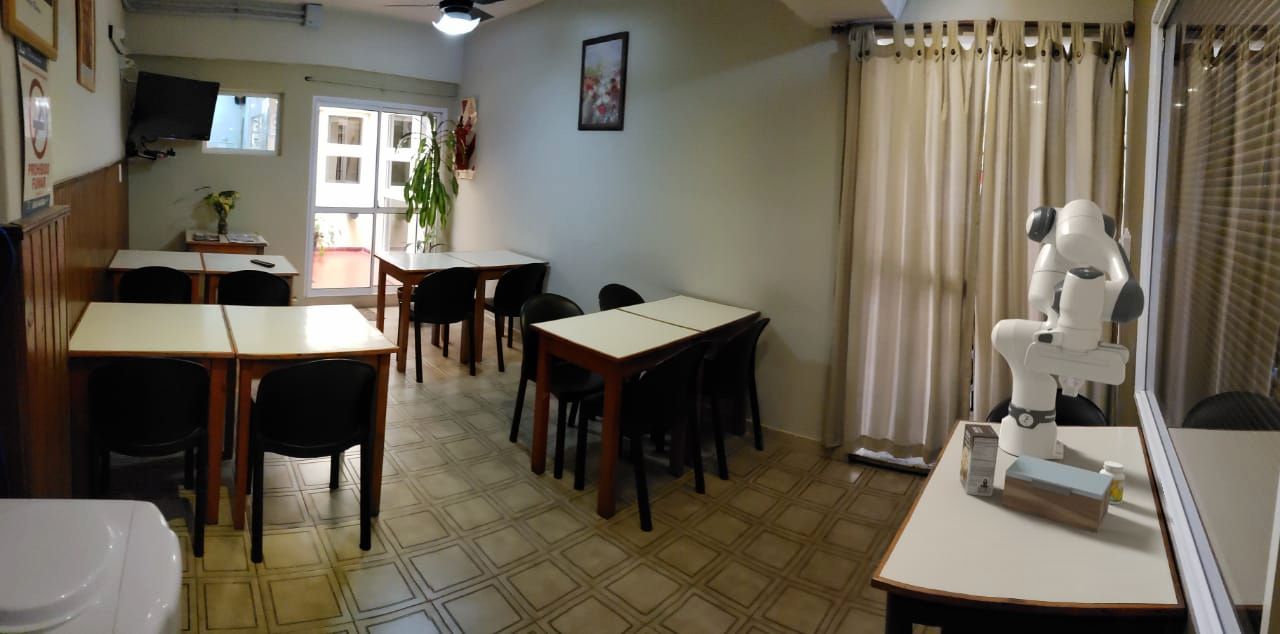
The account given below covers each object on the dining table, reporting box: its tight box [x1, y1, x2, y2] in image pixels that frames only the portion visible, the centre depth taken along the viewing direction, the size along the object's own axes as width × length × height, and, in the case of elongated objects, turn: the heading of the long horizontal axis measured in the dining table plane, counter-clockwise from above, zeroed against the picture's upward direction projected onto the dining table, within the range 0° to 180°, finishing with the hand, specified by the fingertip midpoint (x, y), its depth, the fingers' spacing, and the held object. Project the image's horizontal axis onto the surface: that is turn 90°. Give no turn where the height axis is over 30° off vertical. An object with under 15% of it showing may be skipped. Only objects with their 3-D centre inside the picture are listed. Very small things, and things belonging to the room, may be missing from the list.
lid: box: [1004, 454, 1113, 500], centre depth 171 cm, size 15×20×2 cm
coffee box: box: [959, 423, 999, 497], centre depth 183 cm, size 9×6×16 cm
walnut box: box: [1001, 475, 1112, 534], centre depth 172 cm, size 14×20×8 cm
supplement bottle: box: [1099, 460, 1126, 505], centre depth 177 cm, size 5×5×10 cm
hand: (1069, 395), depth 167 cm, fingers closed
